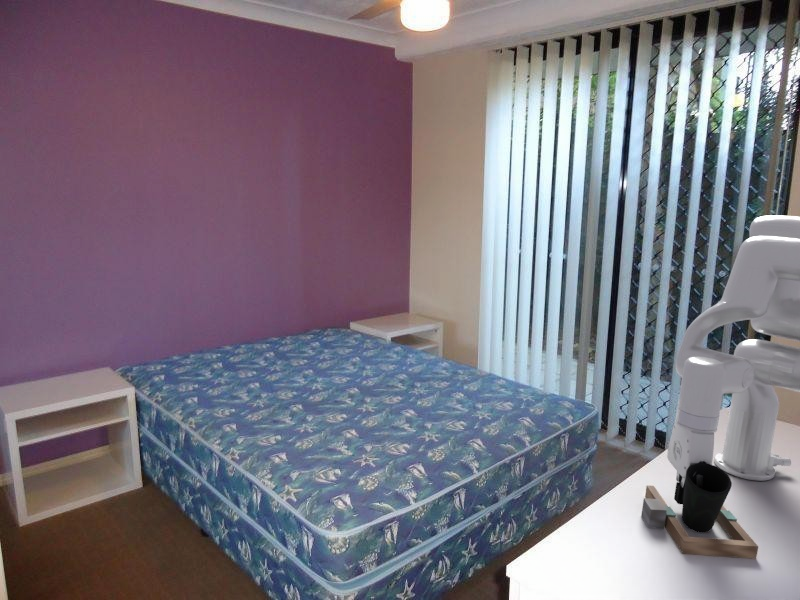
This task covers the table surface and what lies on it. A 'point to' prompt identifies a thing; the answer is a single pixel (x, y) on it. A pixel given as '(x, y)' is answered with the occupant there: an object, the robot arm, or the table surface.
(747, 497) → the table surface
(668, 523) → the beam slot
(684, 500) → the cup
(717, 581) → the table surface
